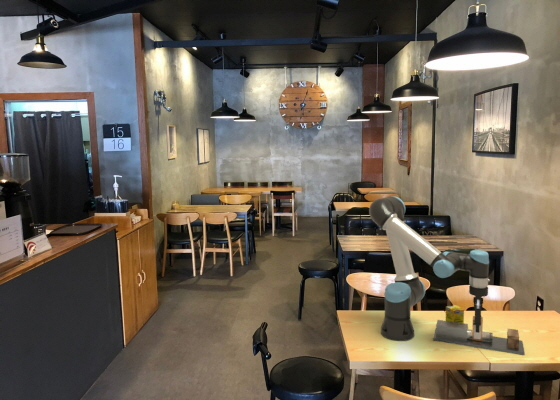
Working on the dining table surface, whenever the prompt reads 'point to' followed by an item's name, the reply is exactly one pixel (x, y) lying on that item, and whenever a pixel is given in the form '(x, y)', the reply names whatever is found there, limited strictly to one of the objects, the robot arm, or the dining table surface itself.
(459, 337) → the base
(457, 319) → the supplement box
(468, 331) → the clear cylinder with block
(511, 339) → the socket block
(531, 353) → the dining table surface
